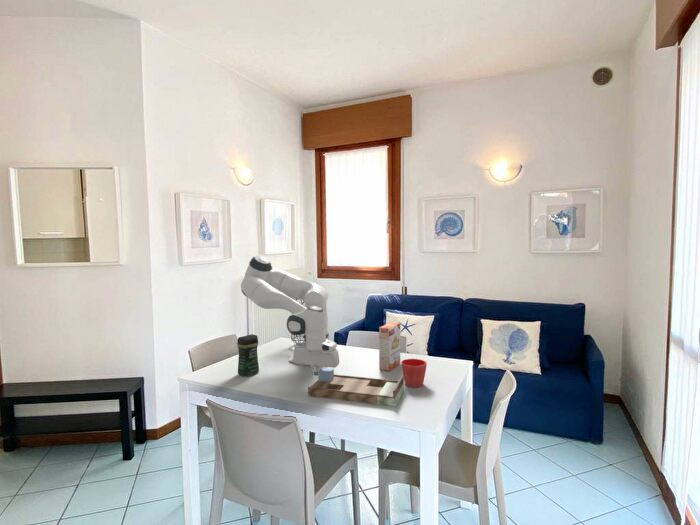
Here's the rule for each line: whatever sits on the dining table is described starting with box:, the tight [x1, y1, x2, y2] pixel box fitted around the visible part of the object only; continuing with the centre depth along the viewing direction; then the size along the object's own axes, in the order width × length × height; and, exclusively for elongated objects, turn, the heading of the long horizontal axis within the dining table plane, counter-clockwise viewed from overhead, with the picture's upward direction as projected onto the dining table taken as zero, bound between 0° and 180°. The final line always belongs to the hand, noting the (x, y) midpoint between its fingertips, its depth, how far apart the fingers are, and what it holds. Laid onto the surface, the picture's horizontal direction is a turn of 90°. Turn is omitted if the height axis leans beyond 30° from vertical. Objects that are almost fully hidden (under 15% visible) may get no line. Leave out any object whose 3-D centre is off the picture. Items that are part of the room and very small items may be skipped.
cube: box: [318, 367, 335, 382], centre depth 166 cm, size 5×5×4 cm
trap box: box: [307, 374, 405, 407], centre depth 158 cm, size 36×17×6 cm, turn 71°
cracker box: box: [378, 321, 401, 372], centre depth 190 cm, size 14×6×21 cm, turn 150°
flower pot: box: [400, 358, 428, 388], centre depth 166 cm, size 11×11×10 cm
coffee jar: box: [236, 334, 260, 377], centre depth 184 cm, size 10×8×19 cm
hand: (316, 375), depth 167 cm, fingers closed
